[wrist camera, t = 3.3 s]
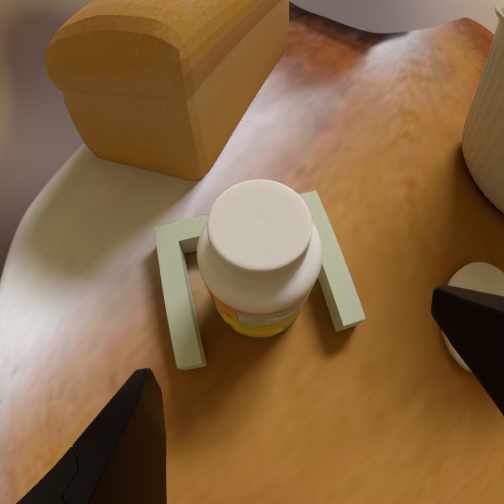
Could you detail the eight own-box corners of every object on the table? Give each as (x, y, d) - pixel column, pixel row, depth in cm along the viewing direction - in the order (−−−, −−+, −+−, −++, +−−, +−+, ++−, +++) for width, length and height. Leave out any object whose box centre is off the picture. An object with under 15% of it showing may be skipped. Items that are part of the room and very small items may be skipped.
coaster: (475, 399, 17) (482, 398, 16) (419, 305, 20) (424, 301, 20) (530, 328, 19) (536, 326, 18) (481, 247, 22) (486, 243, 22)
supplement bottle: (218, 260, 22) (193, 163, 13) (299, 260, 22) (326, 163, 13) (215, 340, 20) (177, 292, 11) (302, 340, 20) (342, 292, 11)
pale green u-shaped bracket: (356, 325, 20) (365, 318, 18) (184, 370, 19) (177, 368, 17) (312, 205, 24) (316, 190, 22) (161, 240, 23) (154, 227, 21)
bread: (205, 187, 25) (168, 10, 11) (88, 157, 27) (23, 32, 14) (289, 47, 35) (295, -56, 21) (199, 36, 37) (188, -57, 23)
